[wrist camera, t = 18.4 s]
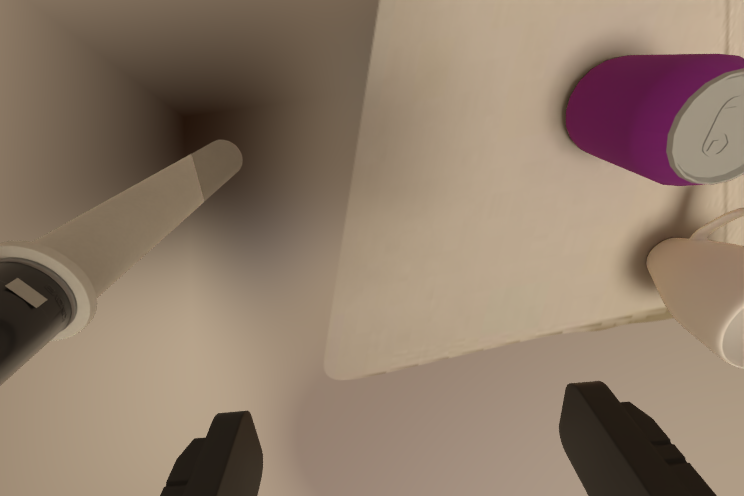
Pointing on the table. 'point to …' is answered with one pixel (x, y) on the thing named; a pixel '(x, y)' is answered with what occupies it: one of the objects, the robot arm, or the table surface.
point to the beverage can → (664, 116)
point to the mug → (704, 287)
